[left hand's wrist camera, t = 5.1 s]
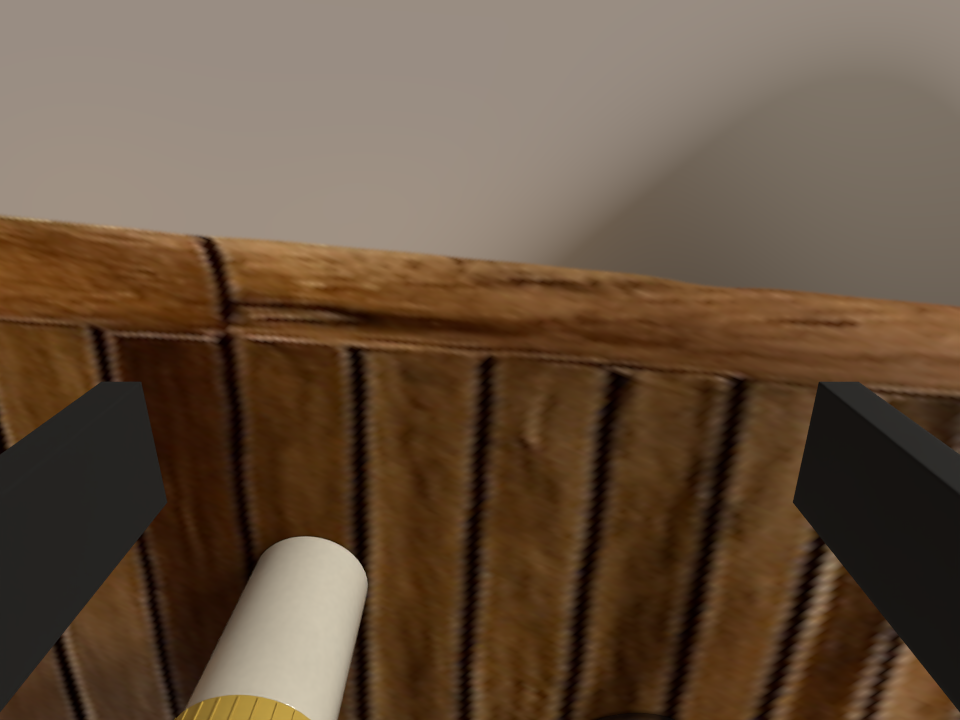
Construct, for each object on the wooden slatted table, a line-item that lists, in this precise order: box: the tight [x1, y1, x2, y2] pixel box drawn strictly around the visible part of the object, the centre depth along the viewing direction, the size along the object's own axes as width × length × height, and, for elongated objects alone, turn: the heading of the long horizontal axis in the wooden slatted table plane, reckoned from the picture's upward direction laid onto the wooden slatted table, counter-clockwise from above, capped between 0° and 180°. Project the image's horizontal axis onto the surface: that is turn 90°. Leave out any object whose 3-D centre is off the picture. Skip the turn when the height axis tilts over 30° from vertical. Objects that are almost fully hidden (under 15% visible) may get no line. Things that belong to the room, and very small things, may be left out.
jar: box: [184, 536, 368, 720], centre depth 41 cm, size 9×9×16 cm
